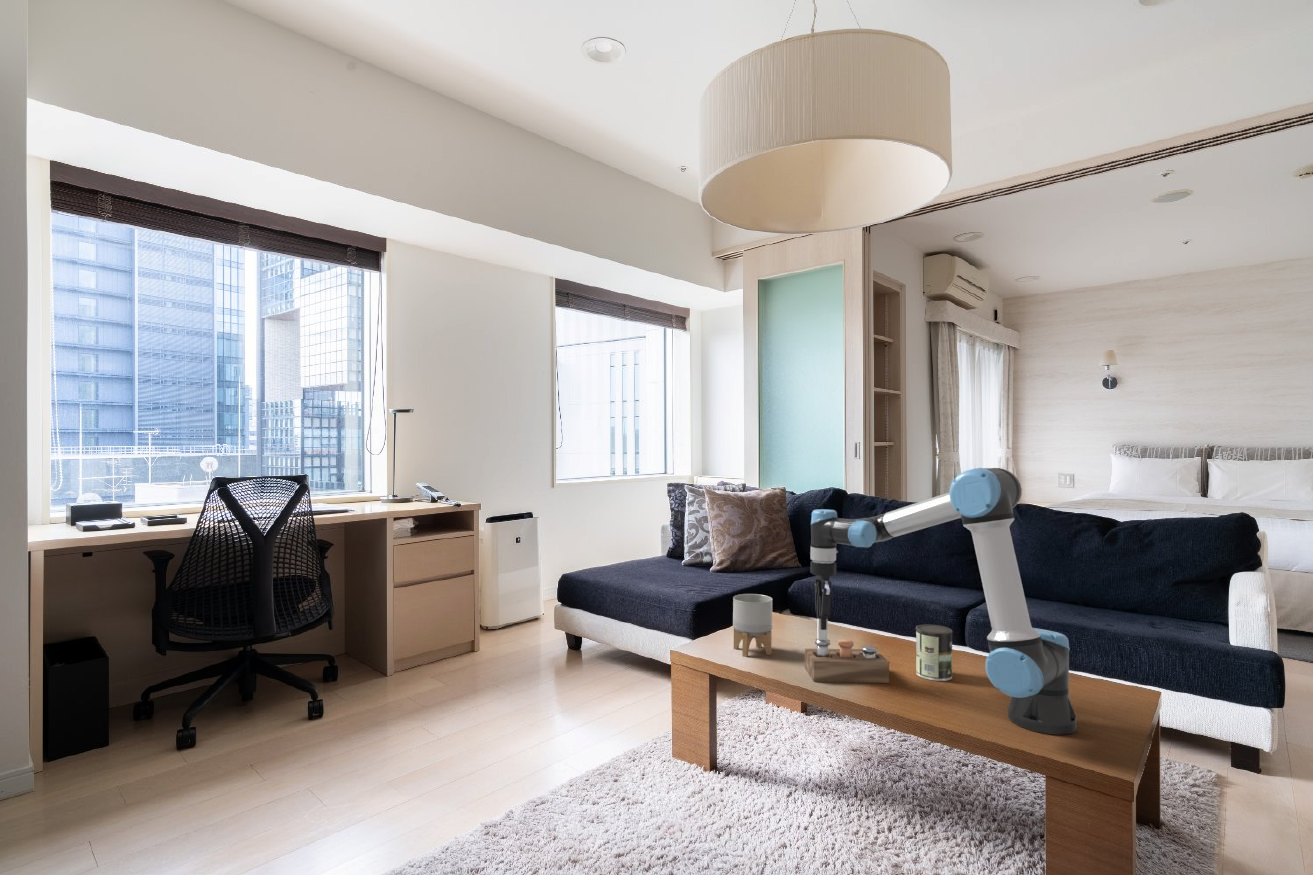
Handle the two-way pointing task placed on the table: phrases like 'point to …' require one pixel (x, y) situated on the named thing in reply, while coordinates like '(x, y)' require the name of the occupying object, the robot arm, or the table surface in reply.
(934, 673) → the coffee can
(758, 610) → the planter
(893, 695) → the table surface
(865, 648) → the grey plug
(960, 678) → the table surface
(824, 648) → the grey plug
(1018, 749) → the table surface
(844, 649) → the terracotta plug
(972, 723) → the table surface
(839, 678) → the wooden slotted block
